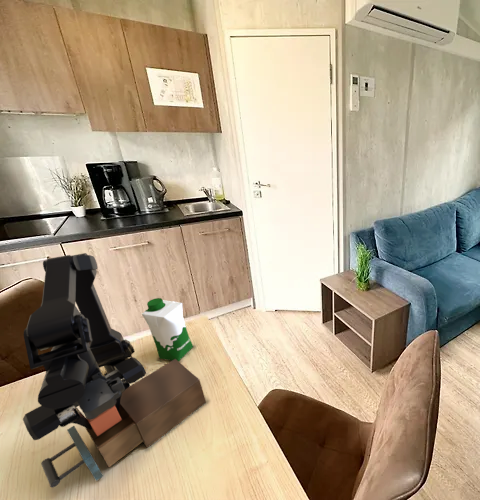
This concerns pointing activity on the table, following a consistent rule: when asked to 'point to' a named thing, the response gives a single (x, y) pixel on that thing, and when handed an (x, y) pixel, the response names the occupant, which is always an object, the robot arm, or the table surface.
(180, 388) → the cabinet
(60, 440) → the table surface
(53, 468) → the drawer
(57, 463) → the table surface
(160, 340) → the milk carton
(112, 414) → the block
